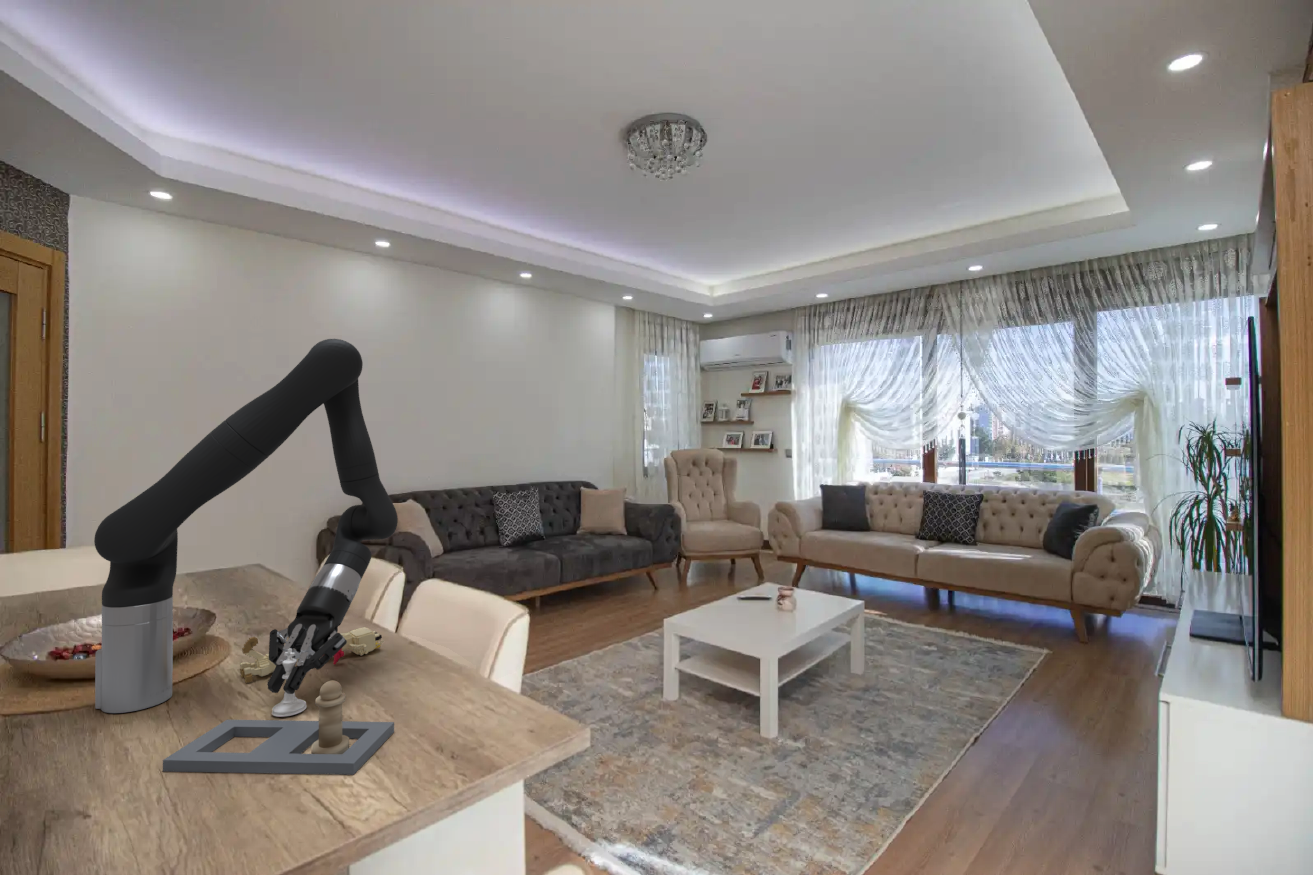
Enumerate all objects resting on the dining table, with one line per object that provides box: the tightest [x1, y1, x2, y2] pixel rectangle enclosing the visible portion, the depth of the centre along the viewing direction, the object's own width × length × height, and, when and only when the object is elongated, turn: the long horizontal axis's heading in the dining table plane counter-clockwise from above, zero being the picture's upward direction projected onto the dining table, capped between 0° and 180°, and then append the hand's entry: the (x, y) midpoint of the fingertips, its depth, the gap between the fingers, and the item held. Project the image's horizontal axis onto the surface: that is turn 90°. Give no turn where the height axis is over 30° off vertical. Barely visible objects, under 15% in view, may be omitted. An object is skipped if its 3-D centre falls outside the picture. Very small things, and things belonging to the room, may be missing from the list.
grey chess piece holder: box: [162, 719, 395, 776], centre depth 89 cm, size 26×12×2 cm, turn 89°
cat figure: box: [239, 626, 385, 684], centre depth 123 cm, size 10×9×25 cm
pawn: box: [310, 680, 350, 754], centre depth 89 cm, size 5×5×10 cm
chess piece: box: [271, 648, 307, 718], centre depth 101 cm, size 5×5×10 cm
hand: (280, 691), depth 99 cm, fingers closed on chess piece
